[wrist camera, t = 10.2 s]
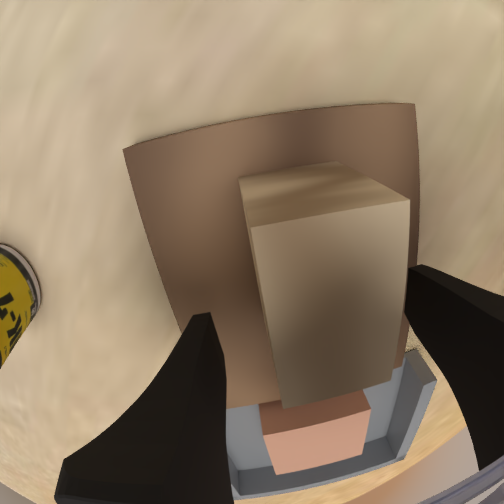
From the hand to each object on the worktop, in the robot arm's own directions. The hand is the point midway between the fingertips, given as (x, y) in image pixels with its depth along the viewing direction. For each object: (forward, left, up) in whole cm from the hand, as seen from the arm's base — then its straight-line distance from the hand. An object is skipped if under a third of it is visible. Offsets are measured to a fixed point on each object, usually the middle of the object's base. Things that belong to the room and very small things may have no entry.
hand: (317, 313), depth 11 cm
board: (0, +1, -4) cm, 4 cm away
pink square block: (0, +11, -4) cm, 12 cm away
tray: (0, +14, -4) cm, 14 cm away
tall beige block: (0, -2, -2) cm, 3 cm away
